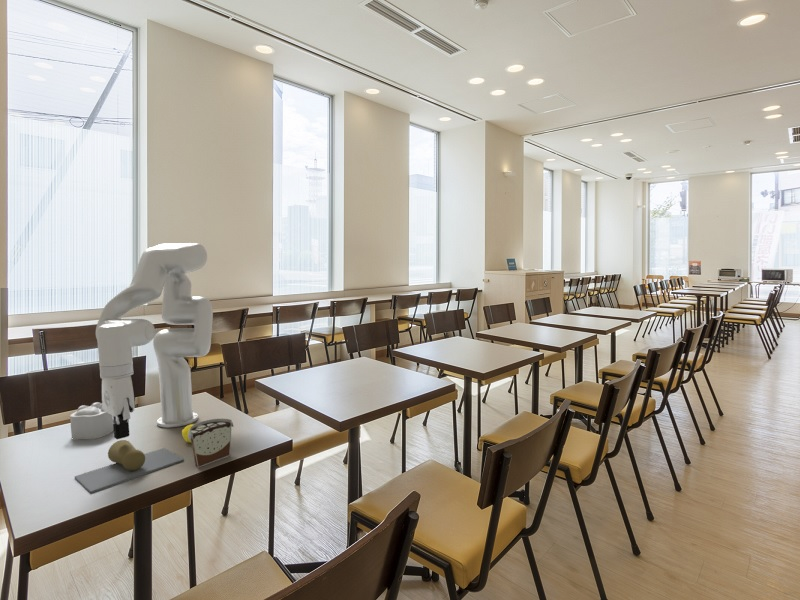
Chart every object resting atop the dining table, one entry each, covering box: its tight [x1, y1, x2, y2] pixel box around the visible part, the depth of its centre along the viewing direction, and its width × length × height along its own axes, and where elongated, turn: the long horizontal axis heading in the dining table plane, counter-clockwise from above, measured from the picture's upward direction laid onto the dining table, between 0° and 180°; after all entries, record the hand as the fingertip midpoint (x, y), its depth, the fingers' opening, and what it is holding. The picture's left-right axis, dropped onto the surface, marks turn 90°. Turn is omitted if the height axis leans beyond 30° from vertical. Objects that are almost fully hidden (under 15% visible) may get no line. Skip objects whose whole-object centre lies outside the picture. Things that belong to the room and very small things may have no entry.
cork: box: [107, 439, 145, 471], centre depth 122 cm, size 6×6×11 cm
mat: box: [74, 447, 185, 494], centre depth 121 cm, size 12×22×1 cm, turn 140°
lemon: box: [181, 423, 196, 444], centre depth 139 cm, size 7×5×5 cm
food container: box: [188, 418, 234, 469], centre depth 127 cm, size 12×6×10 cm, turn 141°
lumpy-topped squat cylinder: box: [69, 401, 114, 440], centre depth 148 cm, size 10×13×9 cm
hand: (121, 437), depth 124 cm, fingers closed
